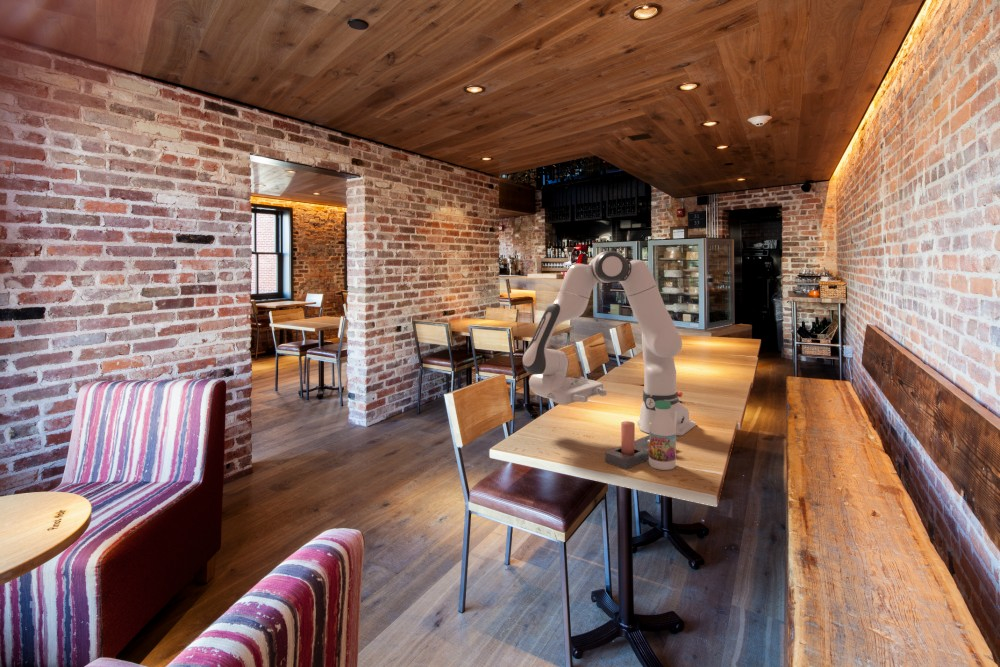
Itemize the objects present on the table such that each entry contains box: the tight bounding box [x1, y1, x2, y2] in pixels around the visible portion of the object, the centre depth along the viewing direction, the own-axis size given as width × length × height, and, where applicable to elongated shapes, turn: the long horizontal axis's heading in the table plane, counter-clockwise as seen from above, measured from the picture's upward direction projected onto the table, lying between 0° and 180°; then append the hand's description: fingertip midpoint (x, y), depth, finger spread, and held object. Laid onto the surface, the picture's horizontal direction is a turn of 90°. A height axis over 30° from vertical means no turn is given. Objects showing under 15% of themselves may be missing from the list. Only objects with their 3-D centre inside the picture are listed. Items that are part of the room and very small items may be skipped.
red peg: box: [620, 420, 636, 456], centre depth 153 cm, size 4×4×12 cm
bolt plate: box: [604, 422, 651, 470], centre depth 157 cm, size 25×8×9 cm, turn 128°
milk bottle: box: [648, 400, 677, 471], centre depth 148 cm, size 8×8×20 cm
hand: (595, 396), depth 162 cm, fingers open, 8 cm apart
